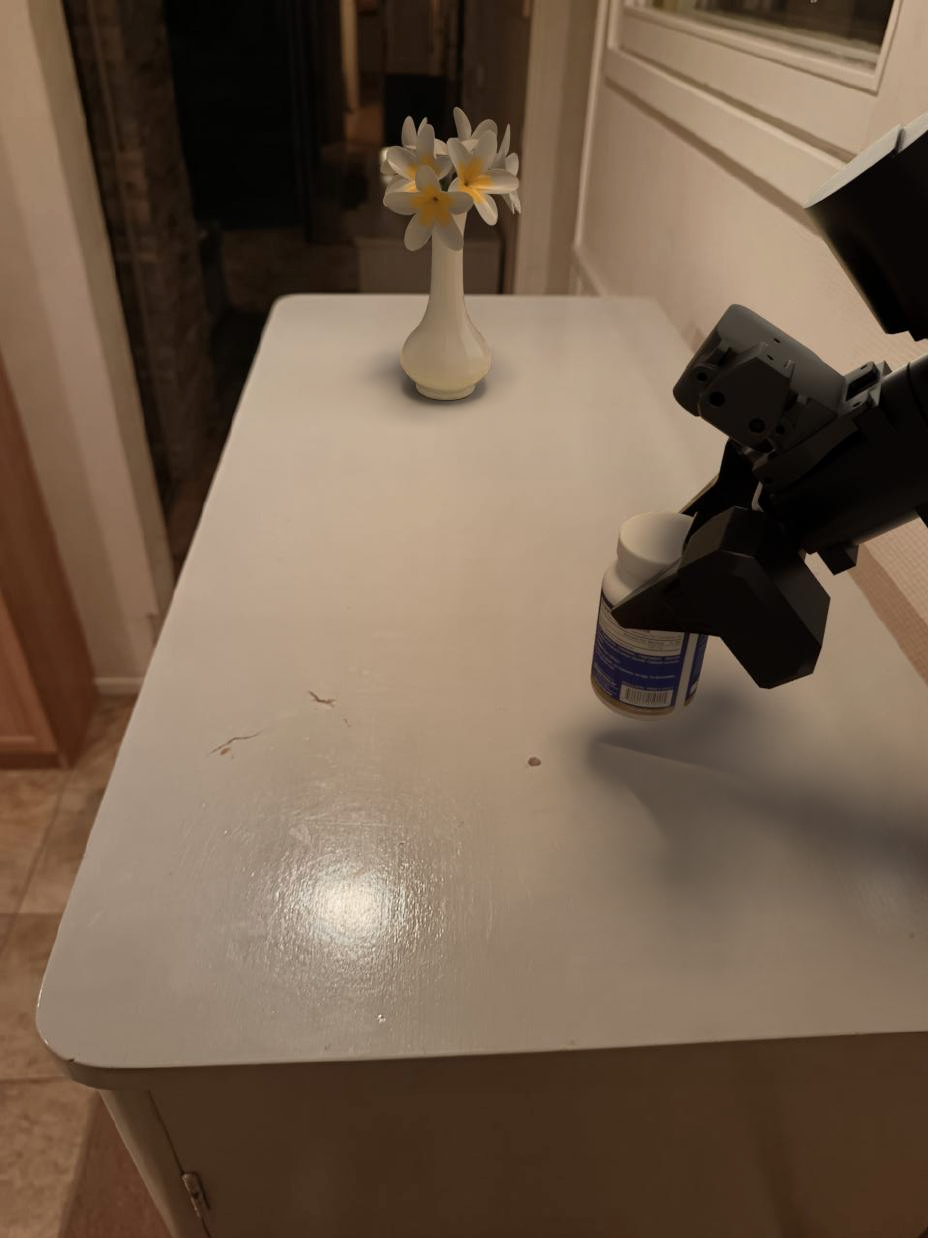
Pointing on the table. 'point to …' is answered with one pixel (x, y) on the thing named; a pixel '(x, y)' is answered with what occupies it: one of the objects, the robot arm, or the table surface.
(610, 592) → the pill bottle
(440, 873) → the table surface
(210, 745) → the table surface
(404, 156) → the flower vase
